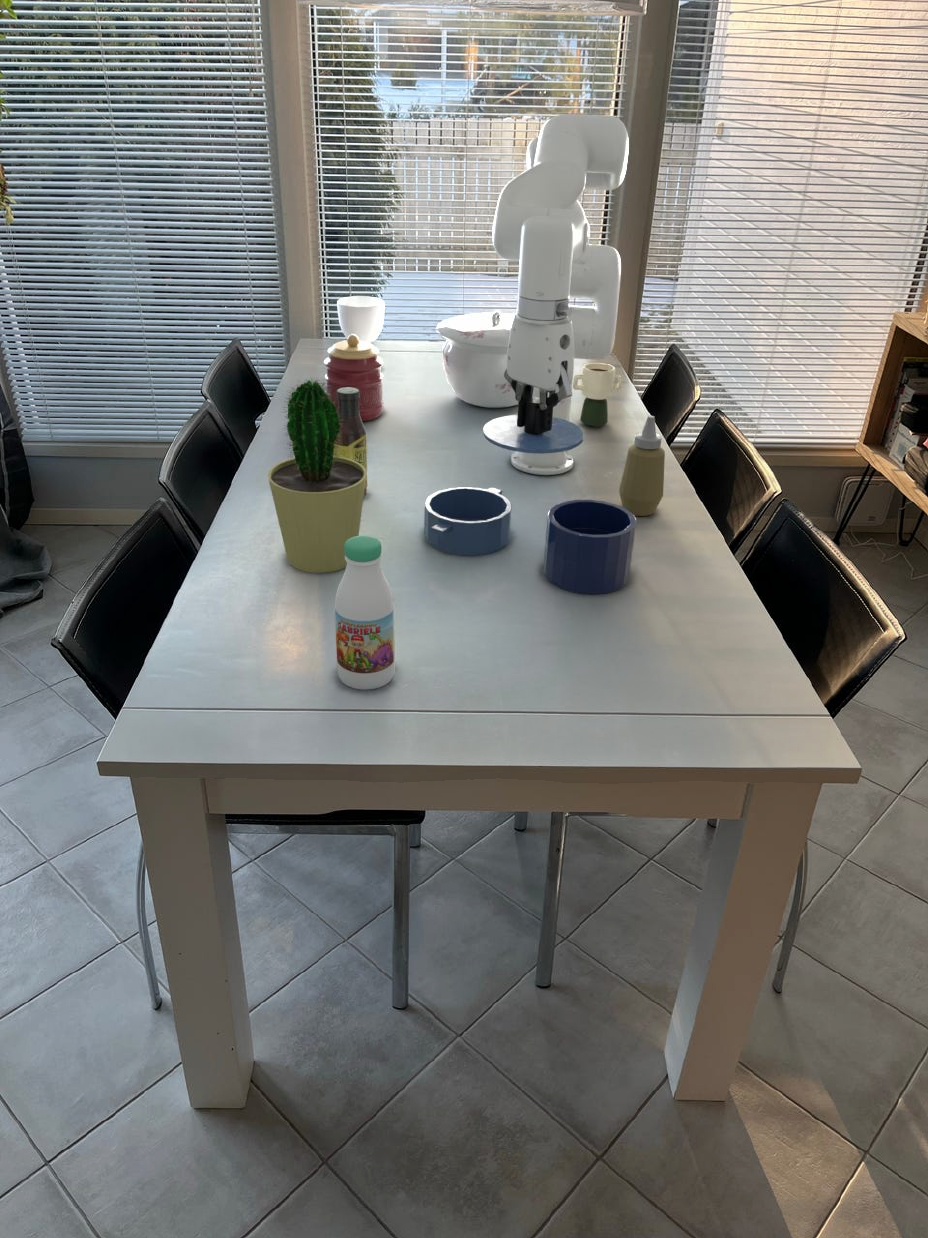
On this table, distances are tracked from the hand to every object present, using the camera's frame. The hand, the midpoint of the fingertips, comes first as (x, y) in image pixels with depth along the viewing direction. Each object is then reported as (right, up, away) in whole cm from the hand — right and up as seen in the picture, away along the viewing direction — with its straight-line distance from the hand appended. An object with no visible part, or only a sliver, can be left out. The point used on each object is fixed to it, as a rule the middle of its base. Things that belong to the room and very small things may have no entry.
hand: (534, 427), depth 150 cm
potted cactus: (-34, -20, +9) cm, 41 cm away
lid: (0, -1, +1) cm, 1 cm away
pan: (-10, -16, +17) cm, 25 cm away
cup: (-37, +34, +97) cm, 110 cm away
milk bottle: (-24, -38, -20) cm, 49 cm away
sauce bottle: (-32, -7, +31) cm, 45 cm away
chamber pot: (-4, +23, +80) cm, 83 cm away
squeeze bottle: (+21, -10, +28) cm, 37 cm away
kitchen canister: (-36, +17, +69) cm, 80 cm away
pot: (+9, -23, +6) cm, 25 cm away
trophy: (+18, +14, +67) cm, 71 cm away
